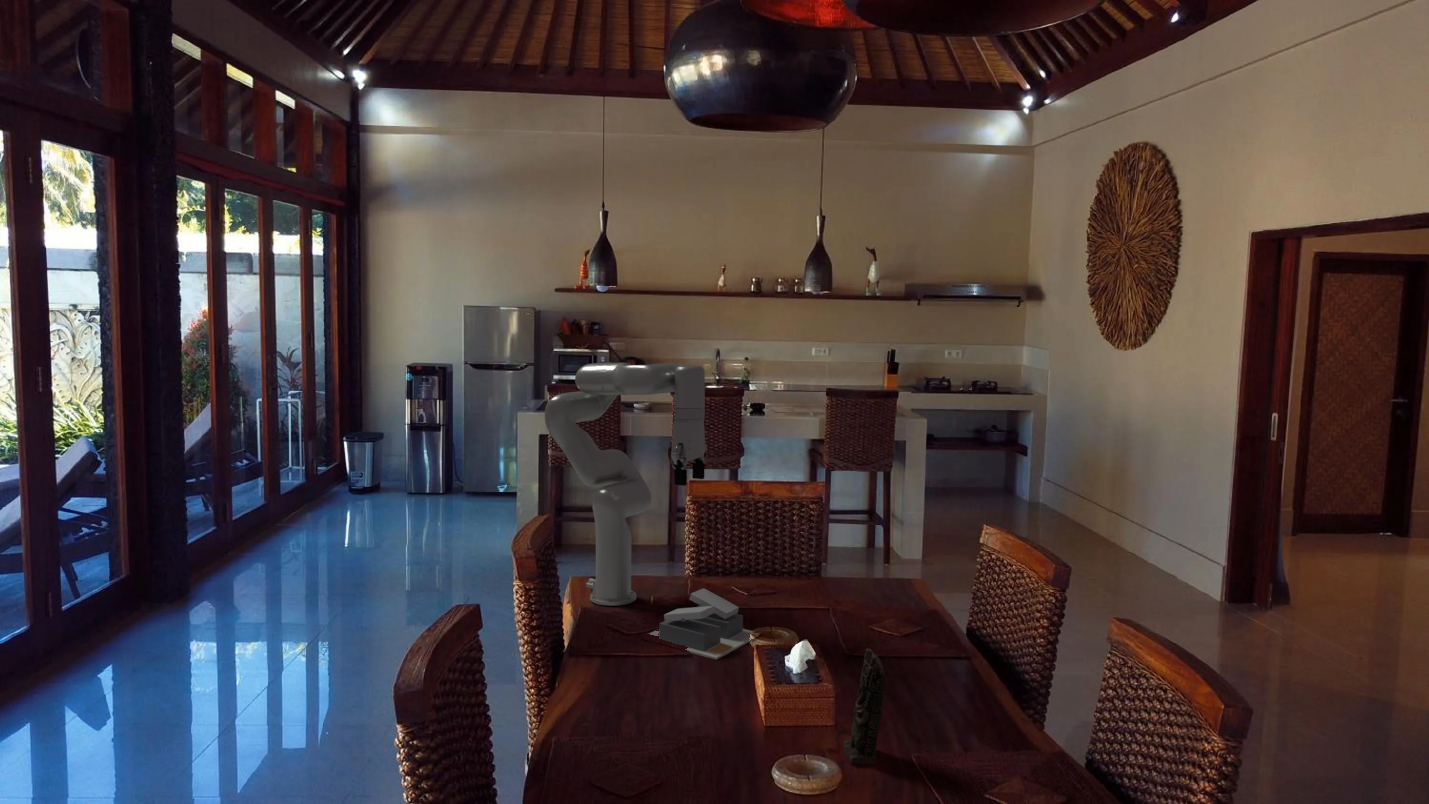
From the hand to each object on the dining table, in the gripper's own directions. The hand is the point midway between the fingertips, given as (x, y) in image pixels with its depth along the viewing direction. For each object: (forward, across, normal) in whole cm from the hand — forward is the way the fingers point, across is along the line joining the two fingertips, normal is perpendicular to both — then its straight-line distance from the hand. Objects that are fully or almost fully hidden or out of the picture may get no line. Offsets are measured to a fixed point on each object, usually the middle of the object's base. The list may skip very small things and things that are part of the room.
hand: (689, 481), depth 250 cm
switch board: (+36, +10, +8) cm, 38 cm away
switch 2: (+30, +5, +9) cm, 31 cm away
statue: (+37, +51, +62) cm, 89 cm away
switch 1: (+30, +15, +8) cm, 34 cm away
